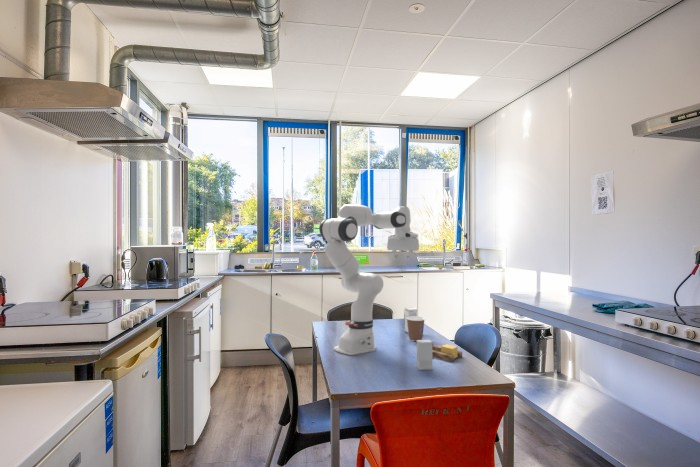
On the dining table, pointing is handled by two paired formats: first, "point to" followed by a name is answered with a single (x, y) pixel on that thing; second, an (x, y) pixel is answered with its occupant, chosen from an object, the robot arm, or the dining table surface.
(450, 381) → the dining table surface
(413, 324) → the coffee cup
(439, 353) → the chute
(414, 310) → the syrup box
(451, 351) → the ochre block
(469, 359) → the dining table surface
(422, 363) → the skincare box
